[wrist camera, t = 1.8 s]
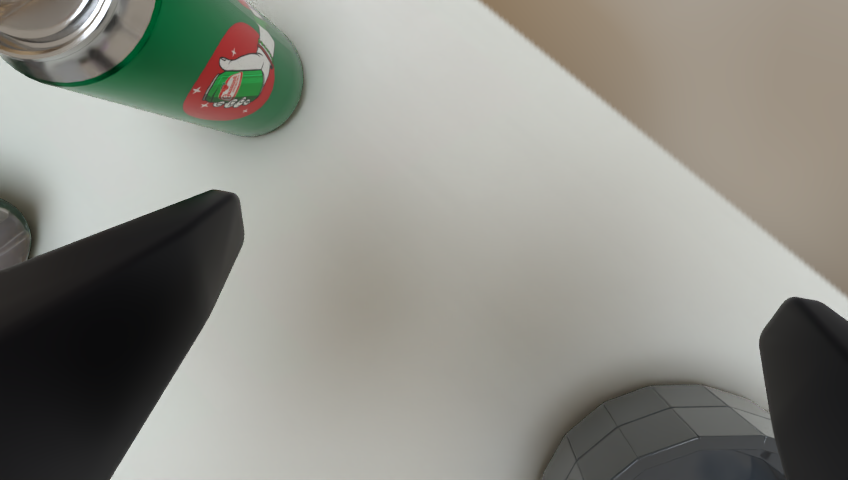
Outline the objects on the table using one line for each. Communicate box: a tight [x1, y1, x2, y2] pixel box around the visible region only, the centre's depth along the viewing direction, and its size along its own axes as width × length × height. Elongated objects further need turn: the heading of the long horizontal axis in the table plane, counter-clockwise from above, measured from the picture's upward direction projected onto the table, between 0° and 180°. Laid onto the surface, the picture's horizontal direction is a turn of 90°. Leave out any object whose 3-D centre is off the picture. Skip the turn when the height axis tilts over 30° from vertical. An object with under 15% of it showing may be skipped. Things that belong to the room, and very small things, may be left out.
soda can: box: [0, 0, 303, 137], centre depth 17 cm, size 5×5×12 cm
